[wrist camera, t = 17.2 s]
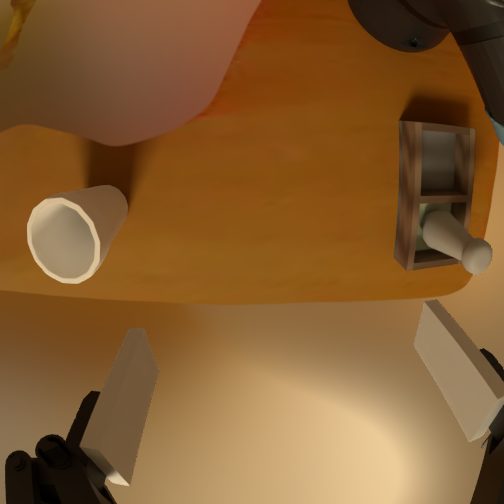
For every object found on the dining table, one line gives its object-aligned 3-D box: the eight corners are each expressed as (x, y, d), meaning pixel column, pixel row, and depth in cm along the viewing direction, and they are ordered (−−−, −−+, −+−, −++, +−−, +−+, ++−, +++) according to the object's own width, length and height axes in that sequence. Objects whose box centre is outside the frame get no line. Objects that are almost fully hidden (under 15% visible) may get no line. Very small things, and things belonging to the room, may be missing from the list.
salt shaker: (447, 204, 40) (503, 235, 28) (444, 240, 42) (494, 279, 30) (416, 206, 40) (470, 240, 28) (413, 244, 42) (462, 286, 30)
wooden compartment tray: (398, 120, 36) (415, 121, 32) (457, 126, 36) (475, 128, 32) (393, 257, 44) (406, 270, 40) (447, 251, 44) (462, 263, 40)
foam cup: (70, 184, 38) (16, 211, 26) (127, 164, 37) (81, 185, 25) (91, 245, 42) (48, 290, 30) (147, 231, 41) (113, 276, 29)
